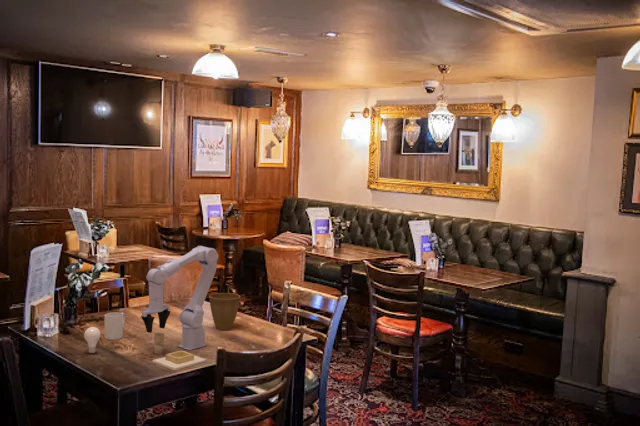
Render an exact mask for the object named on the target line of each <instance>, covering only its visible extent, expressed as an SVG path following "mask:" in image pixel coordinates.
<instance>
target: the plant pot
mask: <svg viewBox="0 0 640 426" xmlns="http://www.w3.org/2000/svg"><path fill="white" fill-rule="evenodd" d="M208 298H209V305H210V312H211V315H212V316H211V317H212V320H213V322H214V323H213V324H214V326H215V328H216V330H218V331H229V329H230V330H231V329H232V328H233V326H234V323H235V321H236V317H237V314H238V310H239V306H240V301H241V295H239V294H237V293H231V292H230V293H229V292H220V293H219V292H217V293H212V294H210V295H209V297H208Z"/></svg>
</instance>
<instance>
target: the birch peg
mask: <svg viewBox="0 0 640 426" xmlns="http://www.w3.org/2000/svg"><path fill="white" fill-rule="evenodd" d="M153 340H154V342H153V343H154V344H153V353H154V355H164V354H165V332H164V333H163V332H156V333H154V339H153Z"/></svg>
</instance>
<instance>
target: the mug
mask: <svg viewBox="0 0 640 426" xmlns="http://www.w3.org/2000/svg"><path fill="white" fill-rule="evenodd" d="M125 320H126V314H125V313H124V312H116V311H115V312H108V313H105V314H104V327H103V328H104V331H103V334H104V339H105V340H108V341H109V340H111V341H112V340H114V341H115V340H120V339H123V337H124V323H125Z"/></svg>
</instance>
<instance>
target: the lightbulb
mask: <svg viewBox="0 0 640 426" xmlns="http://www.w3.org/2000/svg"><path fill="white" fill-rule="evenodd" d="M101 335H102V333H101V330H100V329H99V328H98V327H96V326H90V327H88V328H87V329H86V330H85V331H84V333H83V337H84V340H85V341H86V342H87V346H88V353H90V354H95V353H96V351H97V350H96V348H97V347H96V346H97V344H98V341H99V339H100V338H101Z"/></svg>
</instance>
